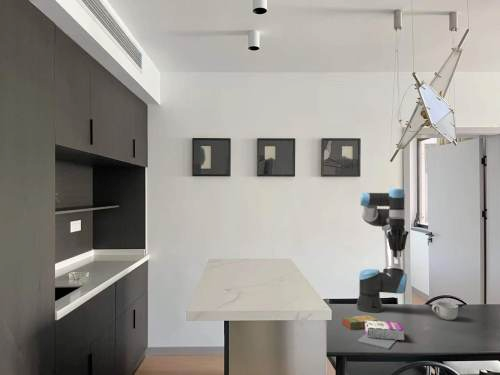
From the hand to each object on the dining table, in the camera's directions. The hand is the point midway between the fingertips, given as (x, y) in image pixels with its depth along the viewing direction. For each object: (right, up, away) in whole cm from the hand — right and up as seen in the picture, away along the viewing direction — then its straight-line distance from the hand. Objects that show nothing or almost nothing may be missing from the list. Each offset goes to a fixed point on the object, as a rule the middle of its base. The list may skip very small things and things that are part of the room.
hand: (397, 263), depth 191 cm
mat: (-17, -32, -21) cm, 42 cm away
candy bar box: (-4, -29, -17) cm, 34 cm away
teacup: (+31, -33, +13) cm, 48 cm away
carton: (-20, -33, -1) cm, 38 cm away
